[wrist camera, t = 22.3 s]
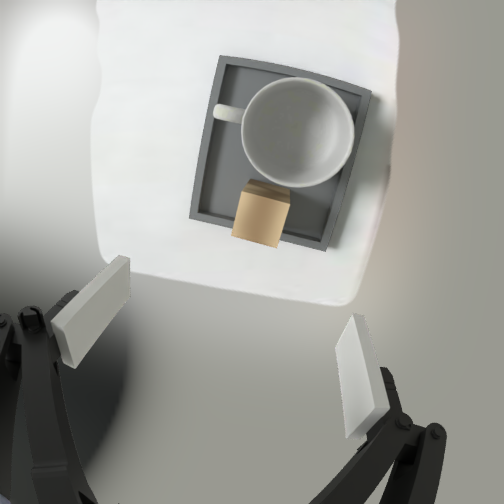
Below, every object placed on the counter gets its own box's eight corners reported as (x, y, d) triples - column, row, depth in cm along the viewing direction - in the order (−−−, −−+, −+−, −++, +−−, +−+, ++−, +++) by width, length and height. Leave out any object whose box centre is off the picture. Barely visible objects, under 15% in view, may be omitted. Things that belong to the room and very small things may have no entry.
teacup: (355, 115, 30) (374, 113, 23) (314, 190, 35) (320, 208, 27) (250, 62, 29) (239, 45, 22) (212, 140, 33) (191, 144, 26)
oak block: (241, 215, 37) (231, 235, 31) (250, 178, 35) (241, 191, 29) (278, 225, 37) (276, 248, 31) (289, 189, 35) (290, 204, 29)
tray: (222, 58, 29) (219, 55, 28) (367, 92, 29) (371, 91, 27) (193, 214, 38) (188, 218, 37) (324, 245, 38) (325, 251, 36)
